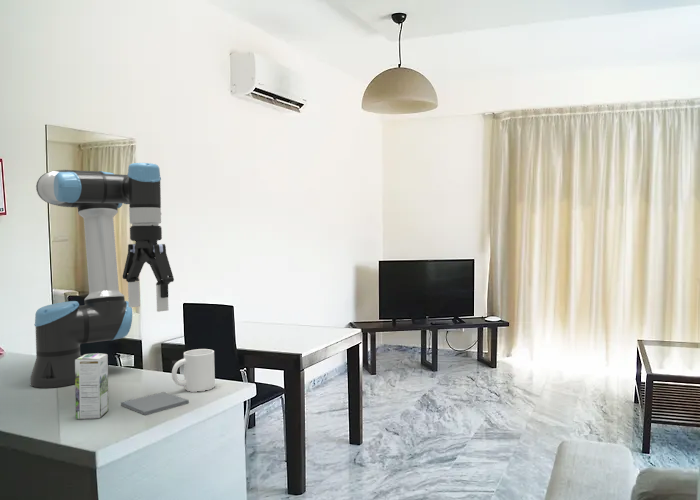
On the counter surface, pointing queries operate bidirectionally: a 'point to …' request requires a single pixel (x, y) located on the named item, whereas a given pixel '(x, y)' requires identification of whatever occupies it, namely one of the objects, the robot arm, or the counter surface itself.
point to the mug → (196, 370)
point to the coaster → (154, 403)
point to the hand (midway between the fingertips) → (148, 308)
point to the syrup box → (91, 386)
